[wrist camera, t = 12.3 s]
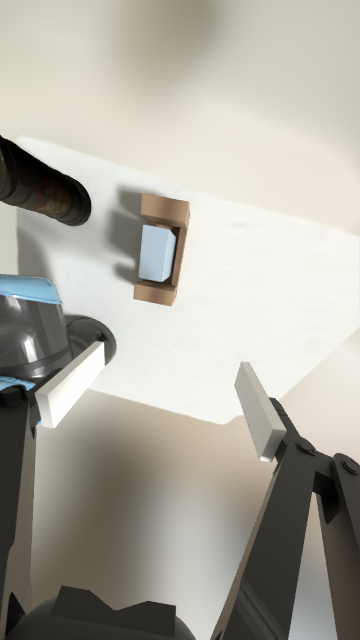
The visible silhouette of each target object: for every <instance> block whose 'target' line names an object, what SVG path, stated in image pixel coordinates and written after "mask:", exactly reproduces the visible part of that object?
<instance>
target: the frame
mask: <svg viewBox="0 0 360 640" xmlns="http://www.w3.org/2000/svg"><path fill="white" fill-rule="evenodd" d="M140 214H141V215H142V216H143V217H145V218H146V219H147V220H148V225H149V226H154V227H159V228H164V229H169V230H170V231H171V232H172V234H173V235H174V236H175V237H176V238H177V239H176V245H175V252H174V258H173V264H172V271H171V276H169V277H168V278H167V279H165V280H164V281H162V282H159V281H154V280H149V279H143V281H141V282H138V283H136V284H134V296H133V299H137V300H142V301H147V302H152V303H157V304H162V305H167V306H172V304H173V302H174V300H175V297H176V293H177V287H178V281H179V275H180V270H181V264H182V258H183V252H184V247H185V241H186V235H187V229H188V224H189V218H190V210H189V202H187V201H182V200H176V199H171V198H166V197H160V196H155V195H150V194H145V193H142V200H141V212H140Z"/></svg>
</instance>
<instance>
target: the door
mask: <svg viewBox="0 0 360 640" xmlns="http://www.w3.org/2000/svg"><path fill="white" fill-rule="evenodd" d="M176 239H177V238H176V237H175V236H174V235H173V234H172V232H171V231H170V230H169V229H164V228H159V227H154V226H149V225H143V232H142V243H141V254H140V265H139V276H138V278H143V279H149V280H154V281H159V282H162V281H164V280H165V279H167V278H168V277H169V276H171V271H172V264H173V258H174V252H175V245H176Z"/></svg>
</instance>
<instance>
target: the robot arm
mask: <svg viewBox="0 0 360 640" xmlns="http://www.w3.org/2000/svg"><path fill="white" fill-rule="evenodd" d="M61 304H62V301H60V298H59V295H58V292H57V289H56V286H55V284H54V283H53V282H52V281H51V280H49V279H47V278H44V277H36V276H23V275H6V274H0V640H196V639H195V637H194V636H193V634H192V633H191V631H190V630H189V628H188V627H187V626H186V625H185V624H184V623H183V621H182V620H180V619H179V618H178V617H177V616H176V615H175V614H176V606H174V605H168V604H162V603H157V602H151V601H146V602H142V603H139V604H136V605H133V606H130V607H127V608H124V609H121V610H113V609H112V608H110V607H109V606H108V605H107V604H105V603H104V602H103V601H102V600H101V599H99V598H98V597H97V596H96V595H94V594H93V593H92V592H91V591H89V590H84V589H79V588H72V587H67V586H61V589H60V591H59V594H58V596H56V597H53V598H51V599H49V600H47V601H45V602H43V603H42V604H40V605H39V606H37V607H36V608H34V609H33V610H32V591H31V581H30V564H31V542H32V520H33V498H34V476H35V453H36V431H37V430H36V425H37V424H40V423H42V426H43V427H48V428H55V427H56V425H57V424H58V423H59V422H60V421H61V419H62V418H63V417H64V416H65V414H66V413H67V412H68V411H69V410H70V408H71V407H72V406H73V405H74V403H75V402H76V401H77V400H78V398H79V397H80V396H81V395H82V393H83V392H84V391H85V390H86V389H87V388H88V386H89V385H90V384H91V383H92V381H93V380H94V379H95V378H96V377H97V375H98V374H99V373H100V372H101V370H102V369H103V368H104V367H105V365H107V364H108V363H109V362H110V361H111V359H112V358H113V357H114V355H115V353H116V341H115V338H114V336H113V334H112V333H111V331H110V330H109V329H108V328H107V327H106V326H105V325H104V324H102V323H100V322H99V321H96V320H94V319H89V318H81V319H77V320H75V321H73V322H71V323H69V324H68V325H66V322H65V318H64V314H63V310H62V305H61ZM235 388H236V391H237V394H238V397H239V400H240V403H241V406H242V409H243V412H244V415H245V418H246V421H247V424H248V427H249V430H250V433H251V436H252V439H253V442H254V445H255V448H256V451H257V454H258V457H259V460H262V461H268V462H272V461H273V459H274V456H275V457H276V459H277V462H278V464H277V466H276V468H275V470H274V472H273V477H272V479H271V482H270V485H269V487H268V490H267V493H266V495H265V498H264V501H263V504H262V506H261V509H260V511H259V514H258V517H257V520H256V522H255V525H254V528H253V531H252V533H251V536H250V538H249V541H248V544H247V546H246V549H245V552H244V554H243V557H242V560H241V562H240V565H239V568H238V570H237V573H236V576H235V578H234V581H233V584H232V586H231V589H230V592H229V594H228V597H227V600H226V602H225V605H224V608H223V610H222V612H221V615H220V617H219V619H218V622H217V624H216V626H215V629H214V631H213V634H212V637H211V639H210V640H288V637H289V630H290V624H291V618H292V611H293V605H294V600H295V594H296V587H297V581H298V575H299V569H300V563H301V557H302V551H303V544H304V538H305V532H306V526H307V520H308V514H309V508H310V501H311V495H312V492H314V493H316V497H317V504H318V511H319V518H320V524H321V531H322V538H323V545H324V551H325V558H326V565H327V571H328V577H329V585H330V591H331V598H332V604H333V611H334V618H335V625H336V631H337V638H338V640H360V465H359V464H358V463H357V462H355V461H354V460H353V459H351V458H350V457H348V456H346V455H344V454H341V453H336V454H335V455H334V456H333V458H332V457H330V456H327V455H325V454H323V453H320V452H318V451H316V449H315V448H314V446H313V445H312V444H311V443H310V442H309V441H307V440H306V439H304V438H302V437H300V435H299V433H298V432H297V430H296V428H295V427H294V425H293V423H292V422H291V420H290V419H289V417H288V415H287V414H286V412H285V411H284V409H283V407H282V405H281V404H280V403H279V402H278V401H277V400H276V399H275V398H270V397H268V396H267V394H266V392H265V390H264V388H263V387H262V385H261V383H260V381H259V379H258V377H257V376H256V374H255V372H254V370H253V368H252V367H251V365H250V363H248V362H241V364H240V368H239V371H238V374H237V378H236V381H235Z"/></svg>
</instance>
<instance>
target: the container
mask: <svg viewBox="0 0 360 640" xmlns="http://www.w3.org/2000/svg"><path fill="white" fill-rule="evenodd" d="M0 201H3V202H4V203H6V204H9V205H12V206H18V207H21V208H24V209H27V210H31V211H34V212H38V213H41V214H44V215H46V216H48V217H50V218H53V219H56V220H58V221H59V222H62V223H64V224H66V225H69V226H79V225H82V224H83V223H85V222H86V221H87V220H88V218H89V216H90V214H91V200H90V197H89V194H88V192H87V191H86V189H85V188H84V186H83V185H82V184H81V183H80V182H78V181H77V180H75V179H73V178H71V177H70V176H68V175H64V174H62V173H61V172H59V171H57V170H55V169H52V168H51V167H49V166H47V165H46V164H44V163H43V162H41V161H40V160H38V159H37V158H35V157H34V156H32V155H31V154H29V153H27V152H26V151H24V150H23V149H21V148H20V147H19V146H17V145H16V144H15V143H13V142H12V141H10V140H8V139H4V138H3V137H2V136H1V135H0Z"/></svg>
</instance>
